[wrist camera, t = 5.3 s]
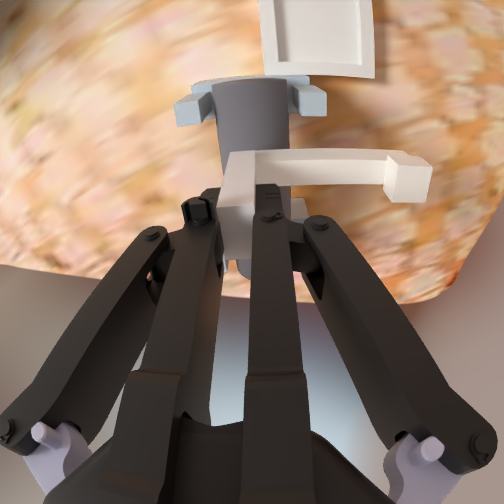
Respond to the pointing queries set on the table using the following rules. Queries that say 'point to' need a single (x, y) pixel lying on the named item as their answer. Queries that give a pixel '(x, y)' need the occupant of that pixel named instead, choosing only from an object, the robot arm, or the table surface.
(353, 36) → the tray
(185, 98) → the cradle
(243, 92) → the gray cylinder
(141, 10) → the table surface
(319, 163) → the white l-shaped hook
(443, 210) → the table surface
